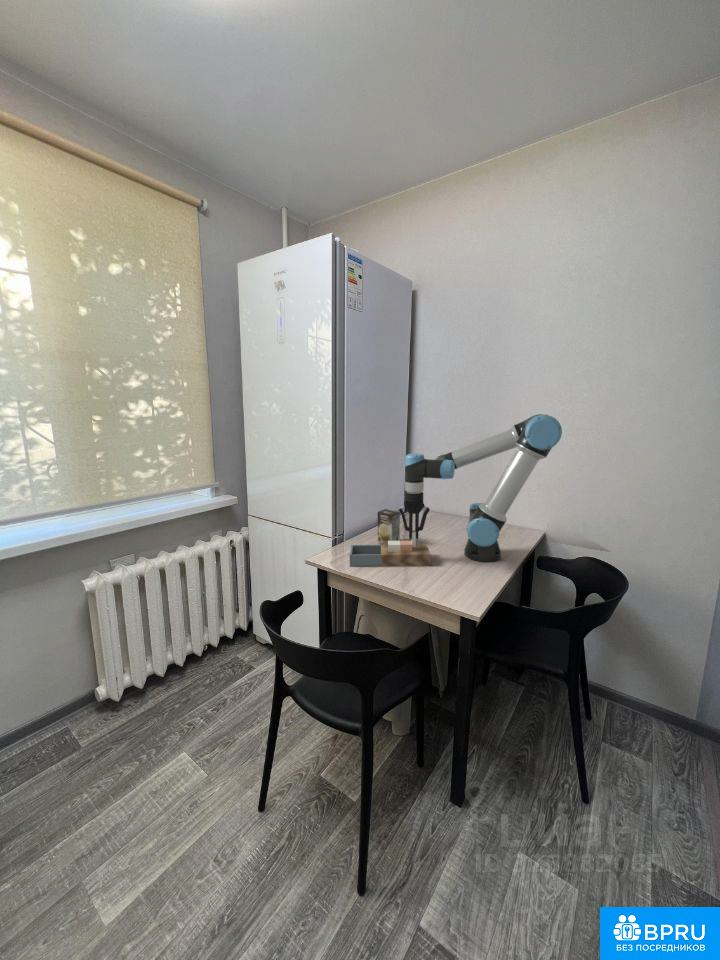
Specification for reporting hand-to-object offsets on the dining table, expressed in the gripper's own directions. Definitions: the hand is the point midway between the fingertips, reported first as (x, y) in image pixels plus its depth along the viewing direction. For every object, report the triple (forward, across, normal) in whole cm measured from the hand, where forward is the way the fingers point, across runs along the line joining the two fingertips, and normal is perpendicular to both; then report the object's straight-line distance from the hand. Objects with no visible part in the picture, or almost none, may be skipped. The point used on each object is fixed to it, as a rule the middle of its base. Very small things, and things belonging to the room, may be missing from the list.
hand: (413, 546), depth 162 cm
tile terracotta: (+1, +3, 0) cm, 3 cm away
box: (+7, +20, 0) cm, 21 cm away
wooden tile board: (+7, +4, 0) cm, 7 cm away
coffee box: (+7, +10, -20) cm, 23 cm away
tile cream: (+2, +8, 0) cm, 8 cm away
